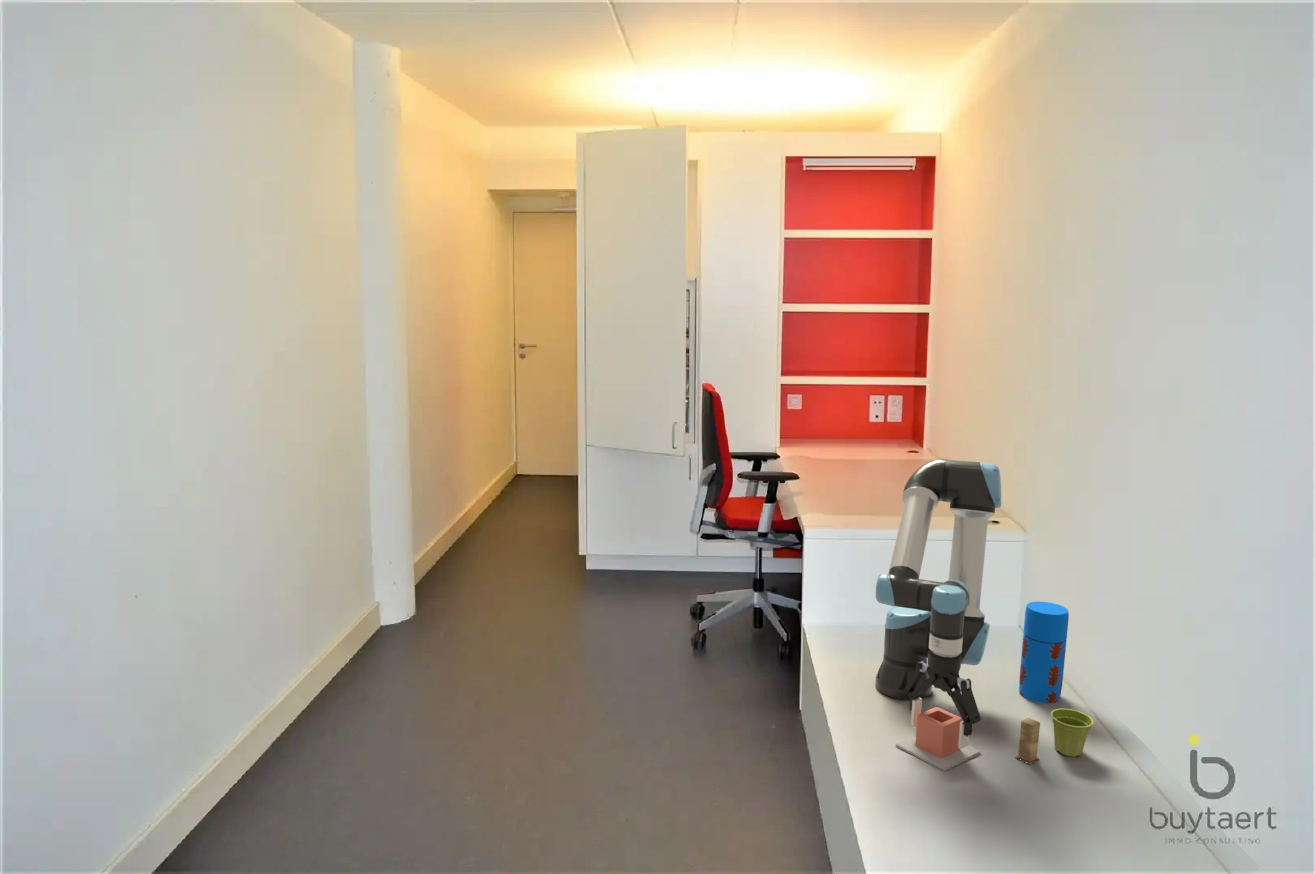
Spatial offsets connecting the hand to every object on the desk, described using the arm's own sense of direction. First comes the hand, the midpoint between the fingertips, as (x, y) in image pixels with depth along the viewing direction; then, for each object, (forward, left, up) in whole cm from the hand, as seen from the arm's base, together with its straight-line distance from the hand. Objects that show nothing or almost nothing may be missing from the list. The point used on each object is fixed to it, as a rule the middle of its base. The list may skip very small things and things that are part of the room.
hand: (938, 735), depth 221 cm
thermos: (-3, +49, -4) cm, 49 cm away
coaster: (0, 0, -4) cm, 4 cm away
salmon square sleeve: (0, 0, -3) cm, 3 cm away
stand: (+15, +14, -4) cm, 21 cm away
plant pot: (+18, +26, -4) cm, 32 cm away
